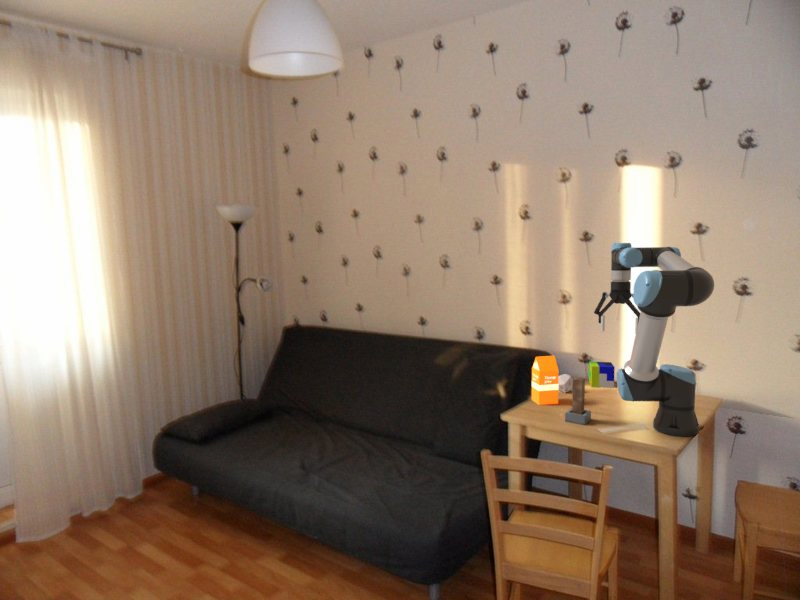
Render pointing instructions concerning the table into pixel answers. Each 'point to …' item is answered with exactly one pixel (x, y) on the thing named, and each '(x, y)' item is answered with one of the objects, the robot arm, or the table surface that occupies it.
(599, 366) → the puzzle toy
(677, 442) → the table surface
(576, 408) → the brown rectangular block
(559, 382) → the crumpled paper ball
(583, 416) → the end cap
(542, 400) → the orange juice
